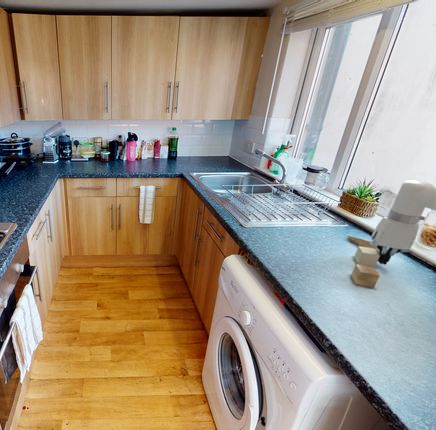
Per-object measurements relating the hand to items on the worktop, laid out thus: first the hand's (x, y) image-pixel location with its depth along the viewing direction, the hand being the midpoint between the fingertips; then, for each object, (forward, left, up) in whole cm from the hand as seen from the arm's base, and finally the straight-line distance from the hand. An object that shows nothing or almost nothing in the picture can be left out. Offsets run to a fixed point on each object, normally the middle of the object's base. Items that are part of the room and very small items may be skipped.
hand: (381, 262), depth 105 cm
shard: (+1, -14, -2) cm, 14 cm away
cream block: (+5, 0, -1) cm, 5 cm away
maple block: (+10, +15, -1) cm, 18 cm away
